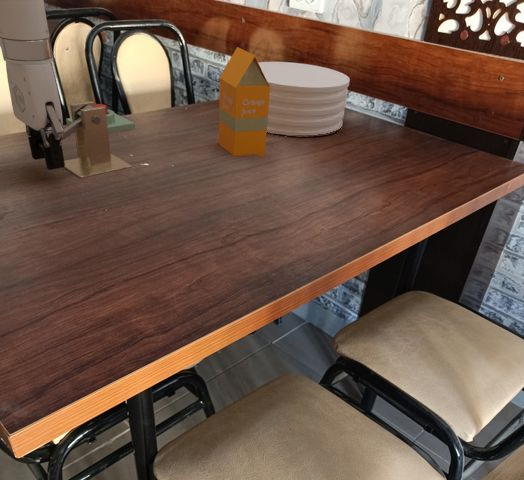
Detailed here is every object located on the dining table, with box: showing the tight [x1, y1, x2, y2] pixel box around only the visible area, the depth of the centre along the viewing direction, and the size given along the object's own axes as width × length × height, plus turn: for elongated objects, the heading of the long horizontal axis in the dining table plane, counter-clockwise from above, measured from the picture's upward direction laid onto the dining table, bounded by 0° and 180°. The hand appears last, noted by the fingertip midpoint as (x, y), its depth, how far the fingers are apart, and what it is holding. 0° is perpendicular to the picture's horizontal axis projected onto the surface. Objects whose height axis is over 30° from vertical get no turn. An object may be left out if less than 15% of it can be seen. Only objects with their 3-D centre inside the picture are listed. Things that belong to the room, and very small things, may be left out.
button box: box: [65, 108, 136, 134], centre depth 117 cm, size 12×10×4 cm
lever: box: [36, 105, 94, 150], centre depth 92 cm, size 12×5×2 cm, turn 133°
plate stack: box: [257, 61, 351, 135], centre depth 132 cm, size 28×28×12 cm
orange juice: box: [218, 46, 270, 157], centre depth 108 cm, size 8×9×20 cm
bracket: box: [63, 100, 133, 179], centre depth 96 cm, size 11×9×12 cm
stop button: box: [94, 103, 108, 115], centre depth 115 cm, size 4×4×2 cm
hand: (48, 162), depth 93 cm, fingers closed on lever, 5 cm apart
